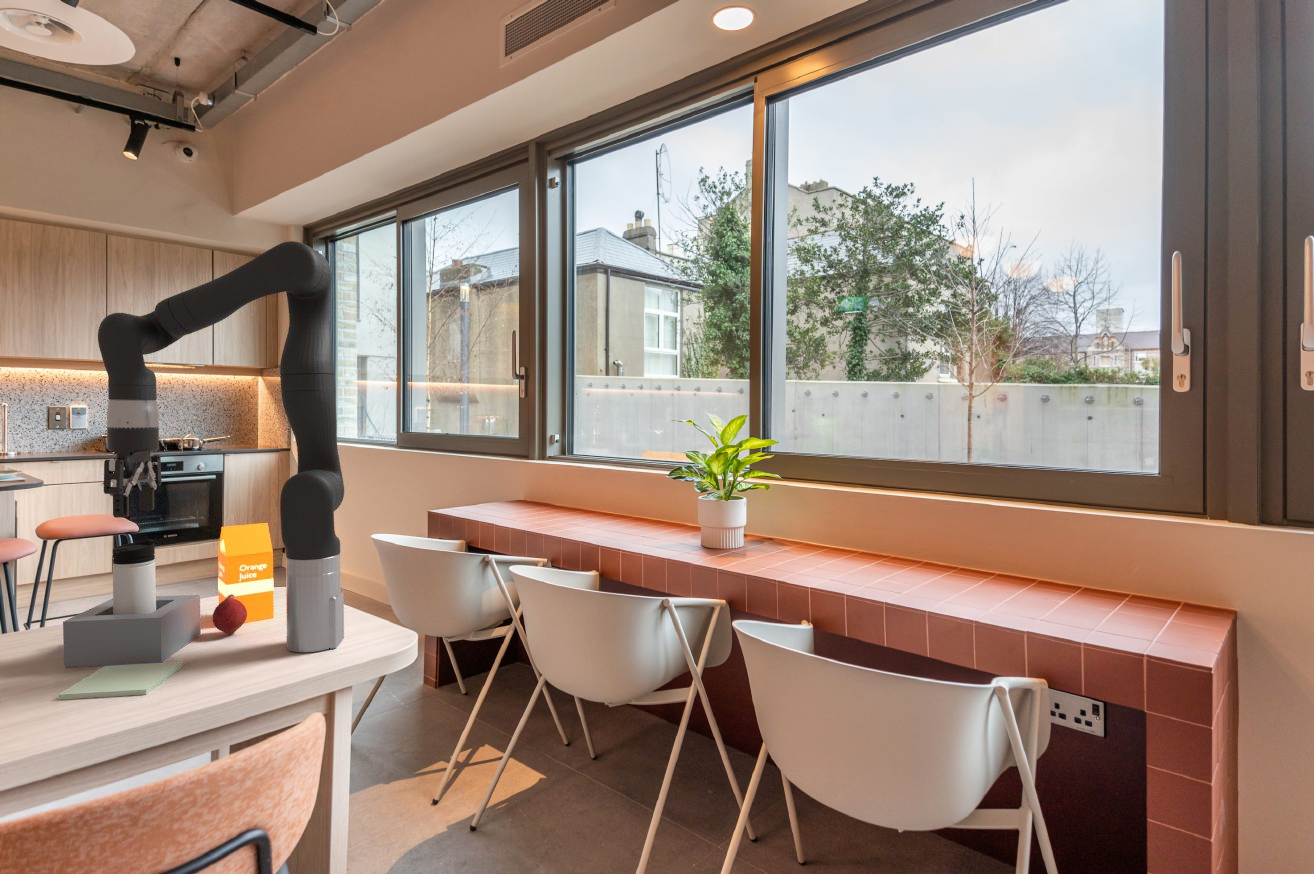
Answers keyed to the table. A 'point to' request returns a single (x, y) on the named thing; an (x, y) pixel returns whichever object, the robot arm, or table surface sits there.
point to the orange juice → (247, 569)
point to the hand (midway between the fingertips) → (134, 513)
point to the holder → (131, 633)
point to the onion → (229, 615)
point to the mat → (122, 680)
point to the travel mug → (134, 578)
